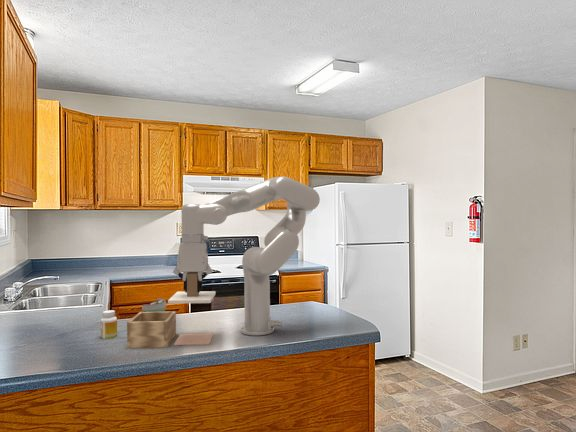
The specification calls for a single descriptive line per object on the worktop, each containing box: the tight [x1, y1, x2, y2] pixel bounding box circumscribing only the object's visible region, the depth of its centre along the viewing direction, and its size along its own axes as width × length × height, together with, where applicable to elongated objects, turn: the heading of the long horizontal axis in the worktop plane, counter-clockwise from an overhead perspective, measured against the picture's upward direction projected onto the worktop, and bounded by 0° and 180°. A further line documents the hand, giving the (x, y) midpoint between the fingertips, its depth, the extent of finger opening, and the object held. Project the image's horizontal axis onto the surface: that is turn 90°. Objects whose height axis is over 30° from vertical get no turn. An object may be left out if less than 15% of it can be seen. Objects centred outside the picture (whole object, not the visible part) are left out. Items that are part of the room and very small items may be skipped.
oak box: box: [126, 311, 177, 349], centre depth 150 cm, size 13×14×9 cm
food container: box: [141, 298, 168, 312], centre depth 169 cm, size 12×6×10 cm, turn 168°
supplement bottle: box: [100, 309, 118, 340], centre depth 155 cm, size 5×5×10 cm
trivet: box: [172, 333, 214, 346], centre depth 152 cm, size 12×12×1 cm
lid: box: [167, 272, 217, 304], centre depth 151 cm, size 14×15×9 cm
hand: (193, 291), depth 151 cm, fingers closed on lid, 3 cm apart
